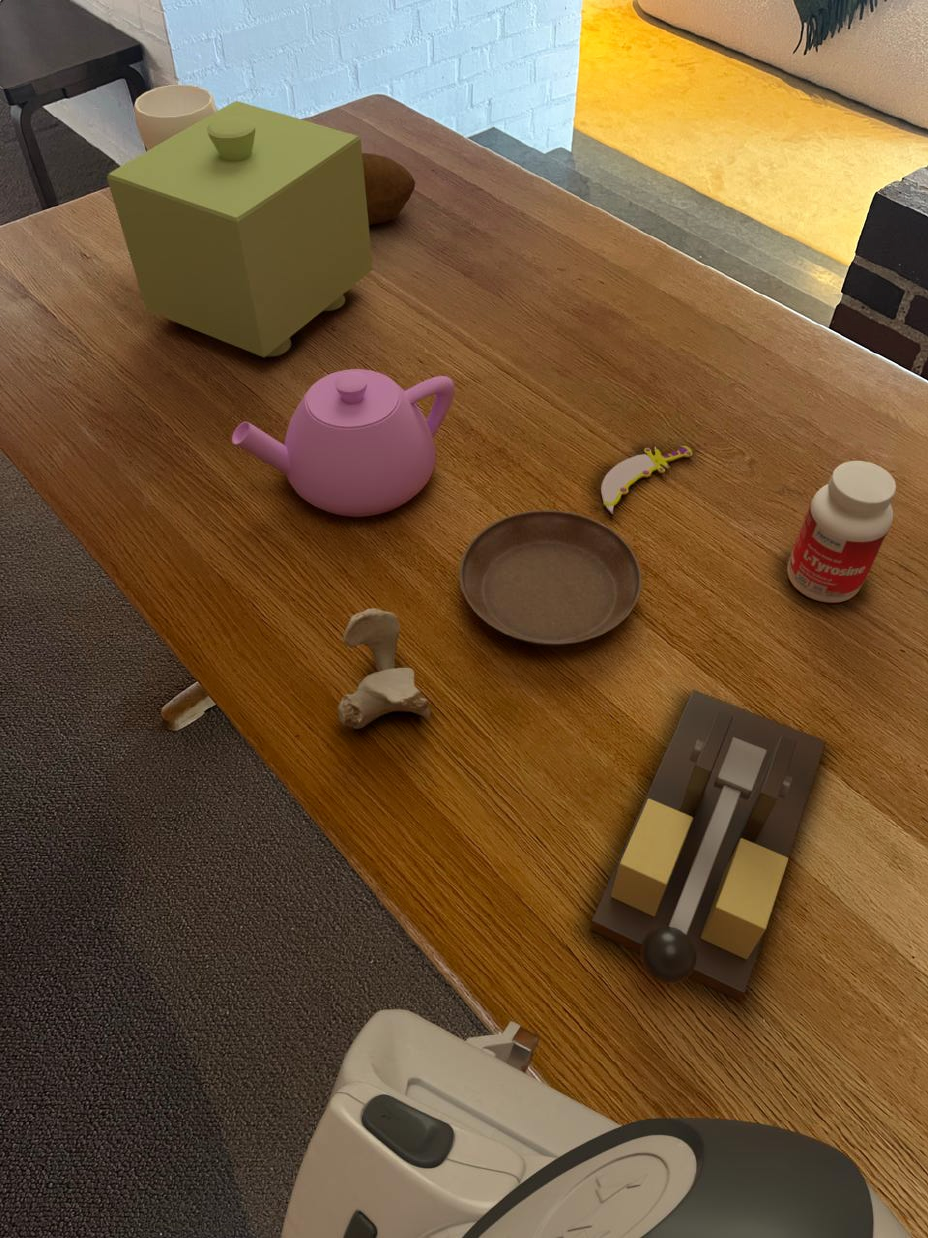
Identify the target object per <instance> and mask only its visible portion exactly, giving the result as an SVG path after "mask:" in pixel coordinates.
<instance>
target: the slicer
mask: <svg viewBox="0 0 928 1238" xmlns="http://www.w3.org/2000/svg"><path fill="white" fill-rule="evenodd" d="M733 737H735V738H737V739H740V740H742V741H745V742H747V743H750V744H753V745H755V746H758V747H760V748H763V749H765V750H767V754H766V757H765V759H764V762H763V765H762V767H761V770H760V773H759V775H758V778H757V781H756V783H755V786H754V788H753V791H752V793H751V795H750V796H749V798H748V799H744V798H741V797H739V800H738V802H737V805H736V808H735V810H734V813H733V815H732V818H731V821H730V823H729V826H728V828H727V831H726V834H725V836H724V839H723V841H722V844H721V847H720V849H719V852H718V855H717V857H716V860H715V862H714V865H713V868H712V870H711V873H710V875H709V878H708V881H707V883H706V886H705V889H704V891H703V894H702V896H701V899H700V902H699V904H698V907H697V909H696V912H695V915H694V917H693V920H692V922H691V925H690V928H689V930H688V933H687V935H688V936H689V937H690V939H691V940H692V942H693V944H694V946H695V949H696V956H697V957H696V965H695V968H694V970H693V972H692V973H691V975H690V976H689V977H688V978H690V979H692V980H695V981H696V982H698V983H701V984H703V985H705V986H706V987H708V988H711V989H713V990H716V991H718V992H720V993H722V994H724V995H726V996H728V997H730V998H732V999H734V1000H737V1001H738V1002H741V1000H742V999H743V997H744V996H745V994H746V992H747V989H748V987H749V982H750V980H751V977H752V973H753V971H754V967H755V964H756V961H757V958H758V955H759V951H760V948H761V945H762V943H763V939H764V937H765V933H766V930H765V931H764V933H763V935H762V936H761V938H760V939H759V941H758V943H757V944H756V946H755V947H754V949H753V951H752V952H751V954H750V956H749V957H748V959H744V958H742V957H740V956H738V955H735V954H733V953H731V952H729V951H727V950H725V949H722V948H720V947H718V946H716V945H714V944H712V943H710V942H707V941H705V940H703V939H701V935H702V932H703V929H704V927H705V924H706V921H707V918H708V915H709V913H710V910H711V907H712V904H713V902H714V899H715V896H716V893H717V891H718V888H719V885H720V882H721V880H722V877H723V874H724V872H725V869H726V867H727V865H728V863H729V861H730V859H731V857H732V855H733V853H734V850H735V848H736V846H737V844H738V842H739V840H740V838H743V839H745V840H748V841H750V842H752V843H755V844H757V845H759V846H762V847H764V848H766V849H769V850H771V851H773V852H776V853H778V854H780V855H783V856H785V857H787V858H788V859H790V855H791V852H792V848H793V845H794V843H795V840H796V836H797V833H798V830H799V827H800V823H801V821H802V818H803V815H804V811H805V808H806V806H807V802H808V799H809V796H810V792H811V789H812V787H813V783H814V780H815V777H816V774H817V771H818V767H819V764H820V761H821V758H822V756H823V752H824V749H825V746H826V743H827V742H826V740H824V739H822V738H819V737H816V736H814V735H811V734H809V733H807V732H804V731H801V730H798V729H796V728H794V727H791V726H788V725H785V724H783V723H780V722H778V721H775V720H773V719H770V718H767V717H765V716H762V715H759V714H757V713H755V712H752V711H749V710H746V709H744V708H741V707H739V706H737V705H734V704H731V703H728V702H726V701H723V700H722V699H719V698H716V697H713V696H711V695H708V694H705V693H703V692H700V691H698V690H694V689H693V690H691V693H690V695H689V698H688V699H687V702H686V705H685V706H684V710H683V711H682V714H681V715H680V718H679V720H678V723H677V724H676V727H675V729H674V731H673V734H672V735H671V739H670V741H669V742H668V745H667V748H666V750H665V753H664V754H663V757H662V759H661V761H660V763H659V766H658V768H657V771H656V773H655V775H654V777H653V779H652V782H651V784H650V787H649V788H648V791H647V793H646V795H645V797H644V800H643V802H642V804H641V807H640V809H639V811H638V814H637V816H636V818H635V820H634V823H633V825H632V827H631V830H630V831H629V834H628V836H627V839H626V841H625V843H624V846H623V848H622V850H621V852H620V855H619V858H617V861H616V863H615V867H614V868H613V871H612V872H611V875H610V877H609V880H608V881H607V884H606V886H605V889H604V891H603V893H602V896H601V898H600V900H599V903H598V905H597V907H596V909H595V910H594V911H595V912H594V913H593V916H592V919H591V921H590V925H589V930H590V931H592V932H595V933H596V934H598V935H601V936H602V937H604V938H607V939H609V940H611V941H613V942H615V943H617V944H619V945H620V946H621V945H622V946H623V947H626V948H628V949H630V950H632V951H634V952H636V953H638V954H640V949H641V945H642V942H643V940H644V938H645V936H646V935H647V934H648V933H649V932H650V931H652V930H653V929H655V928H657V927H661V926H669V924H670V921H671V919H672V916H673V914H674V911H675V909H676V906H677V903H678V901H679V898H680V896H681V893H682V891H683V888H684V885H685V883H686V880H687V878H688V875H689V873H690V870H691V867H692V865H693V862H694V860H695V857H696V855H697V852H698V850H699V847H700V844H701V842H702V839H703V837H704V834H705V832H706V829H707V826H708V824H709V821H710V819H711V816H712V814H713V811H714V808H715V806H716V803H717V801H718V798H719V796H720V793H721V790H722V789H720V788H717V787H715V786H714V783H715V780H716V778H717V775H718V773H719V770H720V767H721V765H722V762H723V760H724V757H725V755H726V752H727V750H728V747H729V745H730V742H731V739H732V738H733ZM648 799H651V800H654V801H656V802H658V803H661V804H663V805H666V806H668V807H670V808H673V809H675V810H677V811H680V812H682V813H684V814H687V815H689V816H691V817H693V821H692V823H691V826H690V829H689V831H688V834H687V836H686V839H685V842H684V844H683V847H682V850H681V852H680V855H679V857H678V860H677V862H676V865H675V867H674V870H673V872H672V875H671V878H670V880H669V883H668V885H667V888H666V890H665V893H664V895H663V898H662V900H661V903H660V905H659V908H658V910H657V913H656V915H655V916H651V915H649V914H647V913H645V912H643V911H641V910H639V909H636V908H634V907H632V906H630V905H628V904H626V903H623V902H621V901H619V900H617V899H615V898H613V897H611V894H612V890H613V887H614V883H615V879H616V875H617V872H618V868H619V864H620V862H621V859H622V857H623V855H624V852H625V850H626V848H627V846H628V843H629V841H630V839H631V836H632V834H633V832H634V830H635V827H636V825H637V823H638V820H639V818H640V816H641V814H642V811H643V809H644V807H645V804H646V802H647V800H648Z"/></svg>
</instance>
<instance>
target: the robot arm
mask: <svg viewBox="0 0 928 1238" xmlns="http://www.w3.org/2000/svg"><path fill="white" fill-rule="evenodd" d="M540 1038H541V1036H540V1035H538V1034H537V1033H535V1032H533V1031H532V1030H529V1029H527V1028H526V1027H524V1026H522V1025H521V1024H519V1023H516V1022H514V1021H512V1020H510V1021H509V1023H508V1024H507V1026H506V1027H505V1029H504V1030H503V1032H502V1033H496V1034H488V1035H480V1036H479V1035H478V1036H471V1037H467V1038H466V1039H465V1040H464V1039H462V1038H461V1037H458V1036H457V1035H455V1034H452V1032H449V1031H448V1030H446V1029H444V1028H442V1027H440V1026H438V1025H436V1024H435V1023H432V1022H431V1021H429V1020H428V1019H426V1018H424V1017H423V1016H420V1015H419V1014H417V1013H415V1012H413V1011H411V1010H408V1009H402V1008H391V1009H390V1008H389V1009H380V1010H378V1011H377V1012H375V1013H374V1014H373V1015H372V1016H371V1017H370V1018H369V1019H368V1021H366V1023H365V1024H364V1025H363V1027H362V1028H361V1029H360V1030H359V1032H358V1034H357V1035H356V1036H355V1038H354V1040H353V1041H352V1043H351V1045H350V1046H349V1048H348V1049H347V1052H346V1054H345V1056H344V1059H343V1061H342V1063H341V1065H340V1069H339V1071H338V1074H337V1077H336V1078H335V1082H334V1084H333V1087H332V1090H331V1093H330V1095H329V1098H328V1100H327V1104H326V1106H325V1109H324V1112H323V1113H322V1115H321V1117H320V1120H319V1121H318V1123H317V1125H316V1127H315V1130H314V1132H313V1134H312V1136H311V1138H310V1141H309V1143H308V1145H307V1148H306V1150H305V1152H304V1155H303V1158H302V1161H301V1164H300V1166H299V1168H298V1172H297V1175H296V1178H295V1181H294V1183H293V1187H292V1190H291V1193H290V1197H289V1201H288V1205H287V1209H286V1212H285V1215H284V1216H285V1217H284V1221H283V1226H282V1230H281V1233H280V1234H281V1235H280V1238H913V1237H912V1236H911V1234H910V1233H909V1231H907V1229H906V1228H905V1226H904V1225H903V1224H902V1223H901V1221H900V1220H899V1219H898V1218H897V1216H896V1215H895V1214H894V1212H893V1211H892V1210H891V1209H890V1208H889V1207H888V1205H887V1204H886V1202H884V1200H883V1199H882V1198H881V1197H880V1196H879V1195H878V1193H877V1192H876V1191H875V1190H874V1188H873V1187H872V1186H871V1185H870V1184H869V1183H868V1182H867V1181H866V1178H865V1177H864V1175H863V1173H862V1171H861V1170H860V1168H859V1167H858V1166H857V1165H856V1164H855V1162H854V1160H852V1159H851V1158H850V1157H849V1156H848V1155H846V1154H845V1153H844V1152H843V1151H841V1150H839V1149H838V1148H836V1147H835V1146H832V1145H830V1144H828V1143H826V1142H824V1141H821V1140H819V1139H816V1138H814V1137H812V1136H809V1135H807V1134H803V1133H800V1132H797V1131H793V1130H790V1129H788V1128H787V1129H786V1128H783V1127H779V1126H775V1125H770V1124H765V1123H760V1122H754V1121H747V1120H740V1119H726V1118H714V1117H713V1118H711V1117H655V1118H654V1117H653V1118H646V1119H640V1120H636V1121H633V1122H630V1123H626V1124H624V1125H622V1124H619V1123H617V1122H616V1121H614V1120H612V1119H610V1118H608V1117H606V1116H605V1115H603V1114H601V1113H599V1112H597V1111H595V1110H593V1109H592V1108H590V1107H588V1106H586V1105H584V1104H582V1103H581V1102H578V1101H577V1100H575V1099H573V1098H571V1097H569V1096H567V1095H566V1094H564V1093H562V1092H560V1091H559V1090H556V1089H555V1088H553V1087H551V1086H549V1085H547V1084H546V1083H544V1082H541V1081H540V1080H538V1079H536V1078H534V1077H532V1076H531V1075H529V1074H527V1071H528V1069H529V1067H530V1064H531V1062H532V1059H533V1057H534V1052H535V1049H536V1048H537V1046H538V1044H539V1041H540Z"/></svg>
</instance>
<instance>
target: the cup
mask: <svg viewBox="0 0 928 1238" xmlns="http://www.w3.org/2000/svg"><path fill="white" fill-rule="evenodd" d="M133 108H134V109H133V110H134V117H135V125H136V126H137V130H138V133H139V136H140V138H141V139H140V140H141V142H142V143H143V145H144V147H145V149H146V151H148V150H150V149H152V148H153V147H155V146H157V145H159V144H160V143H162V142H164V141H165V140H167V139H169V138H171V137H172V136H174V135H176V134H178V133H179V132H181V131H183V130H185V129H186V128H188V127H190V126H192V125H194V124H195V123H197V122H199V121H201V120H202V119H204V118H206V117H208V116H209V115H211V114H213V113H215V112H217V111H218V108H217V105H216V103H215V98H214V97H213V95H212V93H211V92H210V91H209V90H208V89H205V88H203V87H202V86H198V85H192V84H171V85H170V84H168V85H164V86H159V87H155V88H152V89H150V90H148V91H144V92H143V93H142V94H140V96H138V97H137V98H136V99H135V102H134V104H133Z"/></svg>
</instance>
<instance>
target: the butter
mask: <svg viewBox="0 0 928 1238" xmlns="http://www.w3.org/2000/svg"><path fill="white" fill-rule="evenodd" d="M692 821H693V817H691V816H689V815H687V814H684V813H682V812H680V811H677V810H675V809H673V808H670V807H668V806H666V805H663V804H661V803H658V802H656V801H654V800H651V799H648V800H647V802H646V804H645V807H644V809H643V811H642V814H641V816H640V818H639V820H638V823H637V825H636V827H635V830H634V832H633V834H632V836H631V839H630V841H629V843H628V846H627V848H626V850H625V852H624V855H623V857H622V859H621V862H620V864H619V868H618V872H617V875H616V879H615V883H614V887H613V890H612V894H611V897H613V898H615V899H617V900H619V901H621V902H623V903H626V904H628V905H630V906H632V907H634V908H636V909H639V910H641V911H643V912H645V913H647V914H649V915H651V916H655V915H656V913H657V910H658V908H659V905H660V903H661V900H662V898H663V895H664V893H665V890H666V888H667V885H668V883H669V880H670V878H671V875H672V872H673V870H674V867H675V865H676V862H677V860H678V857H679V855H680V852H681V850H682V847H683V844H684V842H685V839H686V836H687V834H688V831H689V829H690V826H691V823H692ZM788 862H789V858H787V857H785V856H783V855H780V854H778V853H776V852H773V851H771V850H769V849H766V848H764V847H762V846H759V845H757V844H755V843H752V842H750V841H748V840H745V839H743V838H740V840H739V842H738V844H737V846H736V848H735V850H734V853H733V855H732V857H731V859H730V861H729V863H728V865H727V867H726V869H725V872H724V874H723V877H722V880H721V882H720V885H719V888H718V891H717V893H716V896H715V899H714V902H713V904H712V907H711V910H710V913H709V915H708V918H707V921H706V924H705V927H704V929H703V932H702V935H701V939H703V940H705V941H707V942H710V943H712V944H714V945H716V946H718V947H720V948H722V949H725V950H727V951H729V952H731V953H733V954H735V955H738V956H740V957H742V958H744V959H748V957H749V956H750V954H751V952H752V951H753V949H754V947H755V946H756V944H757V943H758V941H759V939H760V938H761V936H762V935H763V933H764V931H765V932H766V930H767V928H768V925H769V921H770V918H771V915H772V912H773V909H774V906H775V902H776V900H777V896H778V894H779V890H780V887H781V884H782V880H783V877H784V874H785V871H786V868H787V865H788ZM764 934H765V933H764Z"/></svg>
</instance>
